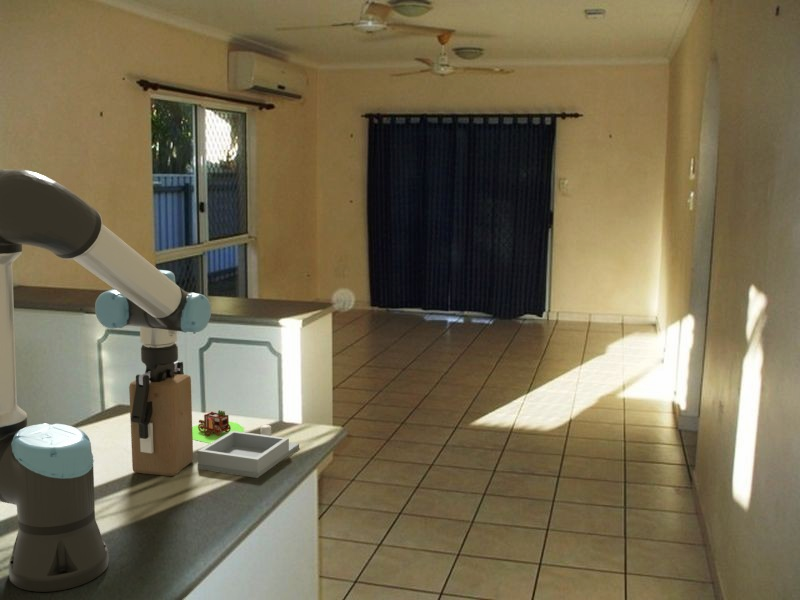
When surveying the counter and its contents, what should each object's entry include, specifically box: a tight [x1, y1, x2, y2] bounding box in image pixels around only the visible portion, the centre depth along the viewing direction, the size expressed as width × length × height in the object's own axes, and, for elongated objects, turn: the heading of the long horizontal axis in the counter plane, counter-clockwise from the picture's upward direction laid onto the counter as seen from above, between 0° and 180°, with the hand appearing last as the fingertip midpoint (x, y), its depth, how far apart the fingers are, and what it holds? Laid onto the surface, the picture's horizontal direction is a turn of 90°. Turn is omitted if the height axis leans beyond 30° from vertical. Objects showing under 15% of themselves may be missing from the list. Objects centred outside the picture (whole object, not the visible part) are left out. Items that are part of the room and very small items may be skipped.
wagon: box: [192, 409, 245, 444], centre depth 210 cm, size 15×15×6 cm
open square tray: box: [197, 424, 300, 479], centre depth 193 cm, size 20×14×5 cm
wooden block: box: [128, 373, 194, 477], centre depth 185 cm, size 10×10×20 cm
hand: (162, 443), depth 186 cm, fingers closed on wooden block, 10 cm apart
